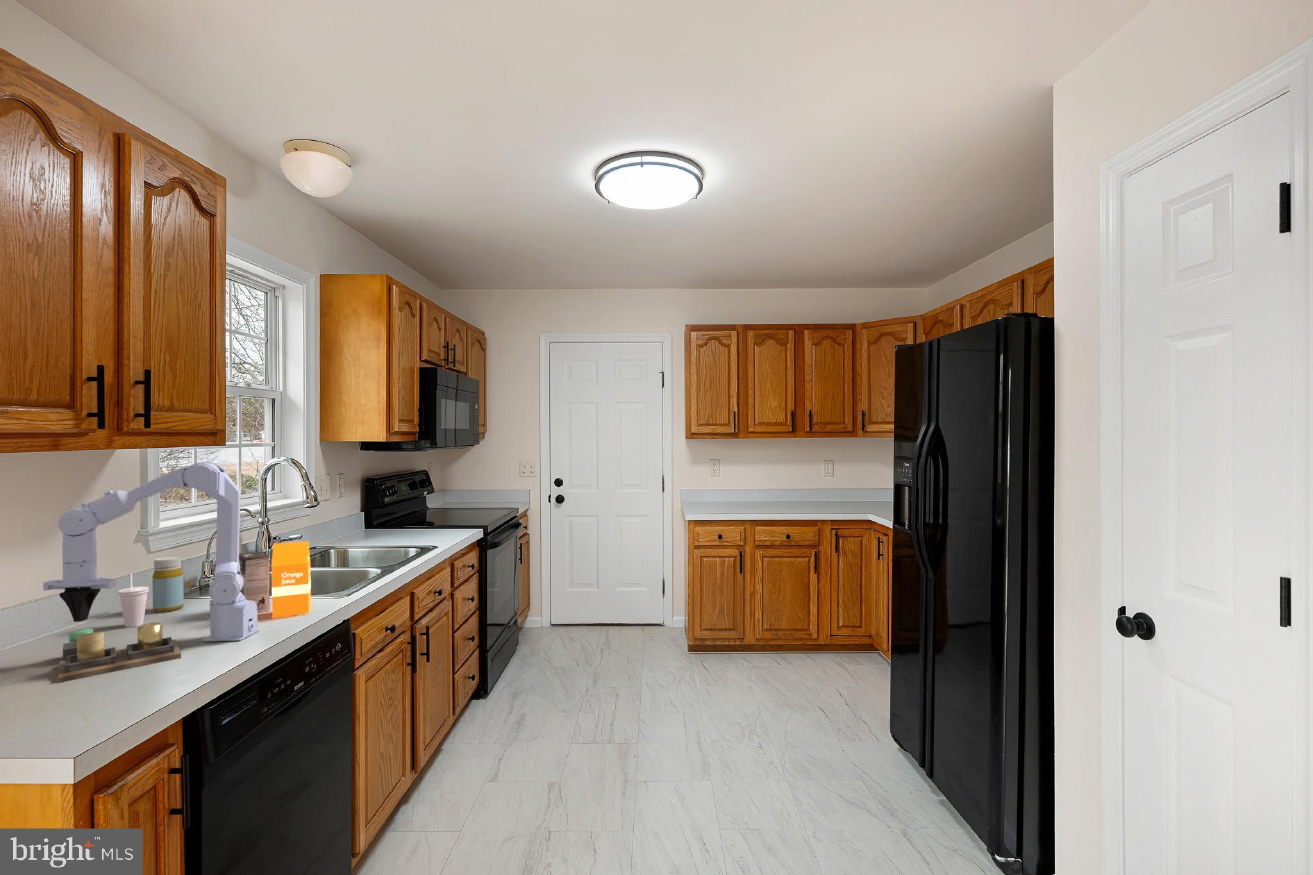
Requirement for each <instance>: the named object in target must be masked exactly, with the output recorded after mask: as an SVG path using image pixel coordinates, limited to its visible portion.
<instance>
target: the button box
mask: <svg viewBox="0 0 1313 875" xmlns="http://www.w3.org/2000/svg"><path fill="white" fill-rule="evenodd" d="M62 647H63V648H62V661H64V660H66V656H69V655H75V654H77V642H67V643H66V642H65V643H63V645H62Z"/></svg>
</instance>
